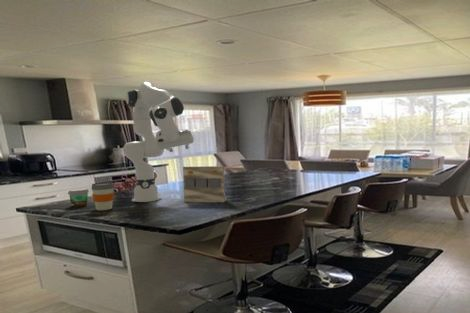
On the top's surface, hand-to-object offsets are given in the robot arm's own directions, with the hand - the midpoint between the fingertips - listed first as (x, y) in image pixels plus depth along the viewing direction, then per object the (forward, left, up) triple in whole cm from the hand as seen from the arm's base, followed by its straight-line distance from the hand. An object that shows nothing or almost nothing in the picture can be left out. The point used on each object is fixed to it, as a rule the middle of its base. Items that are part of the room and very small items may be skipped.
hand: (179, 149), depth 205 cm
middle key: (-14, +14, -24) cm, 32 cm away
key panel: (-17, +15, -34) cm, 41 cm away
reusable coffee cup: (-17, -45, -34) cm, 59 cm away
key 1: (-18, +7, -24) cm, 31 cm away
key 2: (-11, +21, -24) cm, 34 cm away
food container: (-32, -61, -34) cm, 77 cm away
